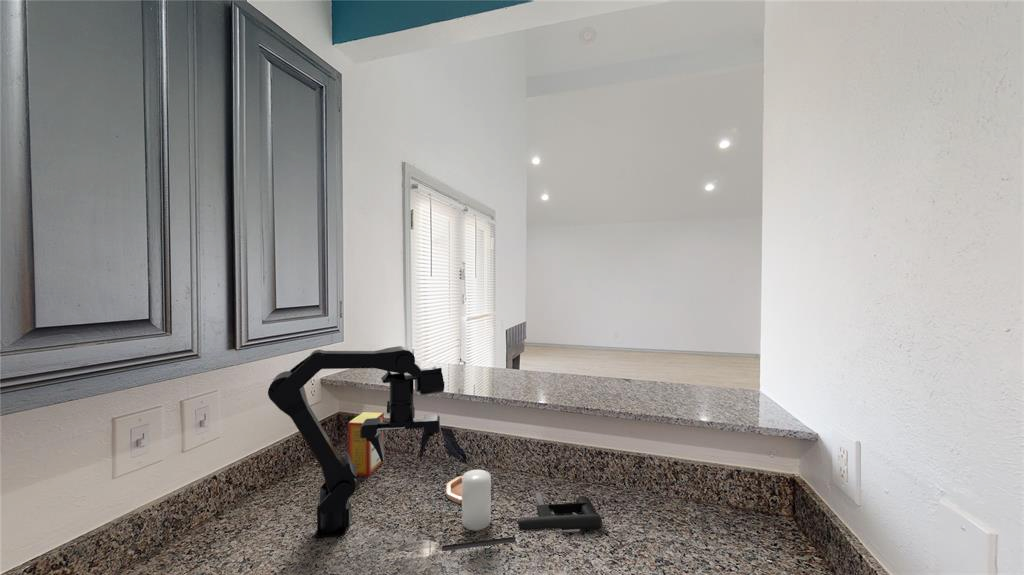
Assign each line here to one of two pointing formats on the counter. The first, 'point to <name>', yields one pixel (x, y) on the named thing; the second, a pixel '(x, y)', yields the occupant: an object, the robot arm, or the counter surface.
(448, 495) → the dish
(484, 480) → the white smooth rounded cylinder
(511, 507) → the counter surface
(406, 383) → the robot arm
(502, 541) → the dark grey flat plate
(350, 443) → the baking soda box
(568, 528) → the door handle
